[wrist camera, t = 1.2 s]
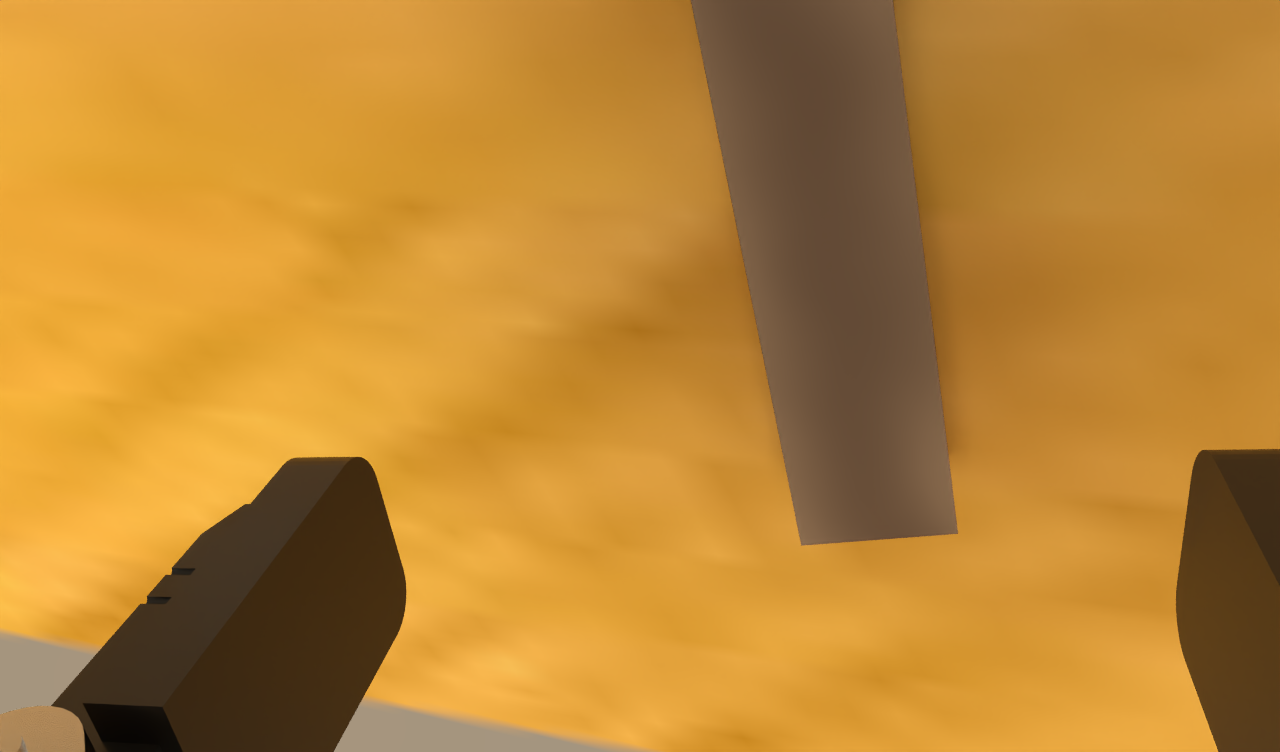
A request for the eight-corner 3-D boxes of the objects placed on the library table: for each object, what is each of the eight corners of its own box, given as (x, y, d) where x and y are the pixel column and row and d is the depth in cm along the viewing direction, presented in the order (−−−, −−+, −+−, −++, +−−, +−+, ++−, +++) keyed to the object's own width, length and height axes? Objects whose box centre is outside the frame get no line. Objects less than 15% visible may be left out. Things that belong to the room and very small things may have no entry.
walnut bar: (832, -490, 21) (827, -542, 18) (947, 449, 31) (957, 533, 27) (638, -425, 22) (597, -463, 19) (808, 462, 32) (801, 545, 28)
